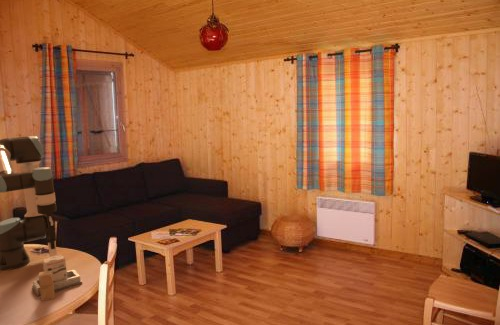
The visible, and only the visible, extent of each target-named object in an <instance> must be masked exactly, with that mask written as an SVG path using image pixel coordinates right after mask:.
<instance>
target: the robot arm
mask: <svg viewBox="0 0 500 325" xmlns="http://www.w3.org/2000/svg"><path fill="white" fill-rule="evenodd" d="M41 142H42V141H41V140H40V138H39V137H38V136H36V135H32V136H31V135H30V136H28V135H27V136H20V137H19V136H18V137H9V138H8V137H7V138H2V139H0V194H1V193H3V194H4V193H8V192H15V191H21V190H23V193H24V200H25V207H26V208H25V209H26V213H25V214H24V219H21V218H20V217H11V218H8V219H5V220H2V221H0V271H9V270H14V269H19V268H21V267H24V266H26V265H28V264H29V263H30V262H31V259H30V255H29V253H28V251H27V249H26V248H25V246H24V243H26V242H33V241H36V240H40V239H41V240H43V239H46V240H47V241H46V243H47V245H48V254H49V258H51V257H55V256H58V253H57V252H58V251H57V245H56V241H57V235H56V234H57V233H56V221H55V216H54V215H53V213H55V212H57V210H58V208H57V203H56V199H57V198H56V192H55V187H54V177H53V176H54V174H53V171H52V168H51V167H50V166H48V167H46V166H42V167H40V163H41V162H42V159H43V158H44V157H45V154H44V153H45V152H44V149H43V145H42V143H41ZM14 161H15V164H16V165H17V166H18V167H20V172H15V171H14V168H13V165H12V163H11V162H14Z"/></svg>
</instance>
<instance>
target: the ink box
mask: <svg viewBox="0 0 500 325" xmlns="http://www.w3.org/2000/svg"><path fill="white" fill-rule="evenodd" d="M66 264H67V262H66V258H65V256H64V255H62V254H59V255H55V256H51V257H48V258H44V259H42V268H43V272H45V271H51V270H52V274H53V282H57V281H60V280H64V279H67V271H68V270H67V266H66Z"/></svg>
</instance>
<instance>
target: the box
mask: <svg viewBox="0 0 500 325" xmlns="http://www.w3.org/2000/svg"><path fill="white" fill-rule="evenodd" d="M38 279H39V284H40V293H41V296H40V299H41V300H40V301H41V302H44V301H49V300H54V299H55V298H56V294H55V293H56V292H54V283H53V274H52V270H51V271H45V272H44V271H42V272H41V271H40V272H38Z"/></svg>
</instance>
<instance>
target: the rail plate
mask: <svg viewBox="0 0 500 325" xmlns="http://www.w3.org/2000/svg"><path fill="white" fill-rule="evenodd" d="M53 283H54V292H55V293H56V292H59V291H62V290H66V289H69V288H73V287H77V286H80V285H82V284H83V281H82V280H81V276H80V274H79V273H78V272H77V271H76V270H75V269H71V270H67V279H64V280H60V281H57V282H53ZM31 287H32V289H33V291H34V292H35V295H36V296H37V297H38V298H41V293H40V284H39V278H38V279H34V280H32V286H31Z"/></svg>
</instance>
